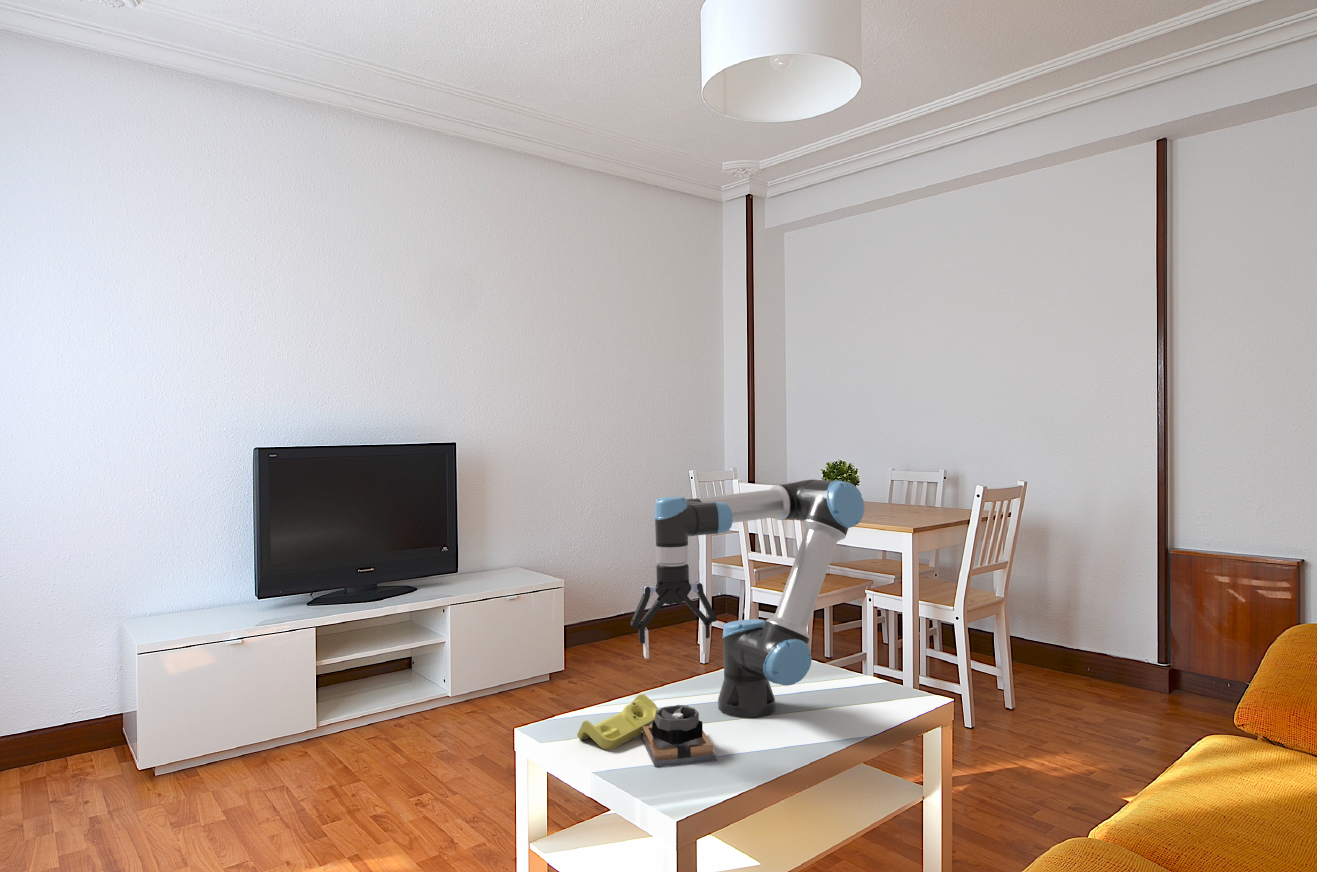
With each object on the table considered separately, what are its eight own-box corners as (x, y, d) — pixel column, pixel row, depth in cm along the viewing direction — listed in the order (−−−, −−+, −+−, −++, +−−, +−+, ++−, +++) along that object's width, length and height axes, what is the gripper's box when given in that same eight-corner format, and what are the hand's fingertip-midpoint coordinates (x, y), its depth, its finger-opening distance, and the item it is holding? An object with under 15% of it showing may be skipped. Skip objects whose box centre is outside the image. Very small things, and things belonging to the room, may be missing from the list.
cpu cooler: (673, 722, 178) (645, 711, 186) (674, 748, 178) (646, 735, 186) (708, 711, 184) (680, 701, 192) (708, 736, 184) (680, 724, 192)
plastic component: (608, 743, 184) (581, 716, 190) (601, 767, 186) (574, 740, 192) (666, 713, 198) (638, 689, 204) (658, 736, 201) (631, 711, 207)
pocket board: (696, 731, 196) (696, 719, 196) (716, 760, 178) (715, 746, 178) (640, 736, 193) (640, 724, 193) (654, 766, 175) (654, 753, 175)
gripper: (719, 558, 192) (722, 646, 192) (617, 564, 187) (619, 654, 187) (728, 562, 185) (731, 654, 185) (622, 569, 180) (624, 663, 180)
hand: (674, 654), depth 186 cm, fingers open, 13 cm apart
